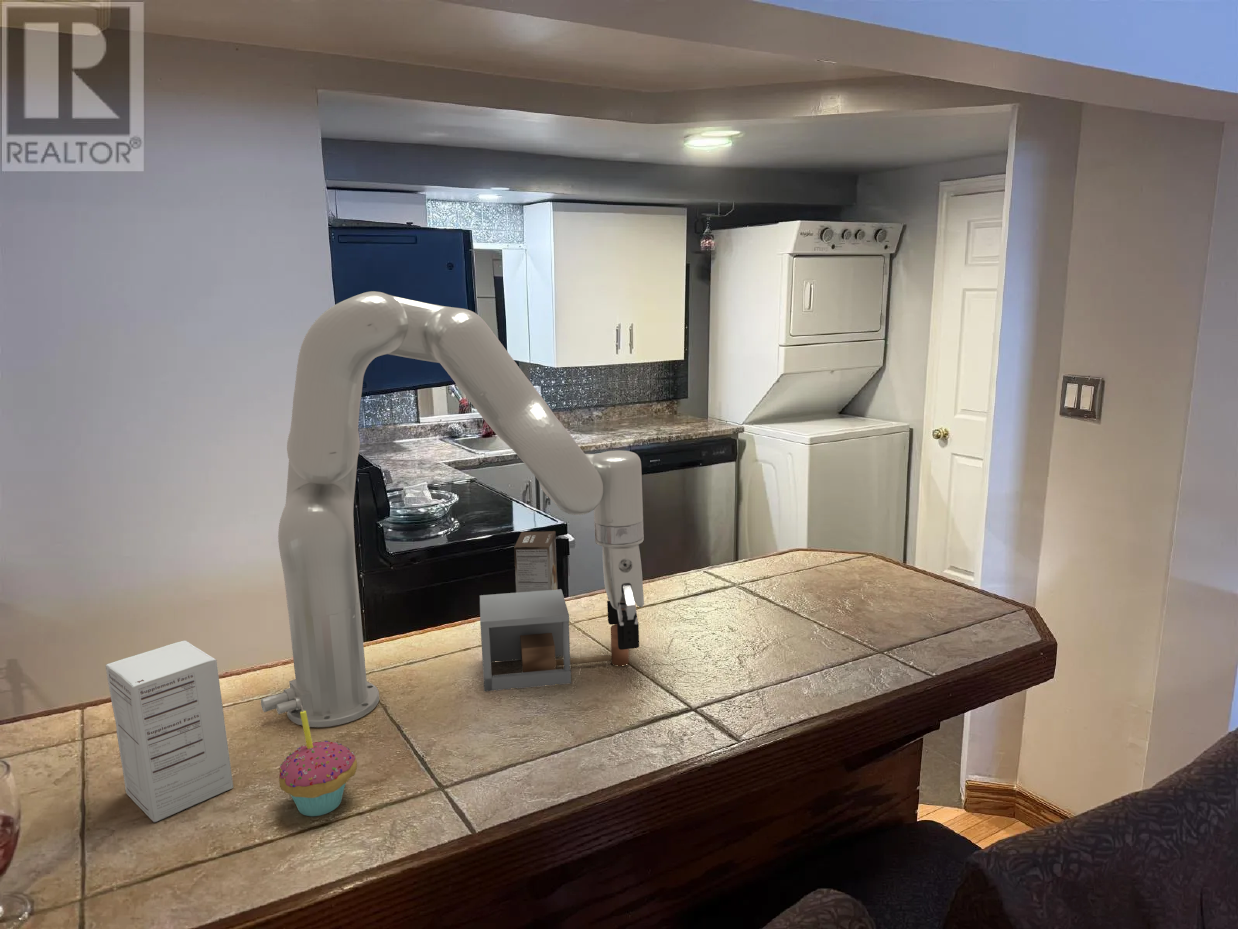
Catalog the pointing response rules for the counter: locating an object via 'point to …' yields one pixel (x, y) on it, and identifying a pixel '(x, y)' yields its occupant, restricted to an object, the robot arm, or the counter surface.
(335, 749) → the cupcake
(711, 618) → the counter surface
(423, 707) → the counter surface
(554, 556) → the coffee box
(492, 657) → the grey open storage bin
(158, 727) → the supplement box
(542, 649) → the block
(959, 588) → the counter surface
